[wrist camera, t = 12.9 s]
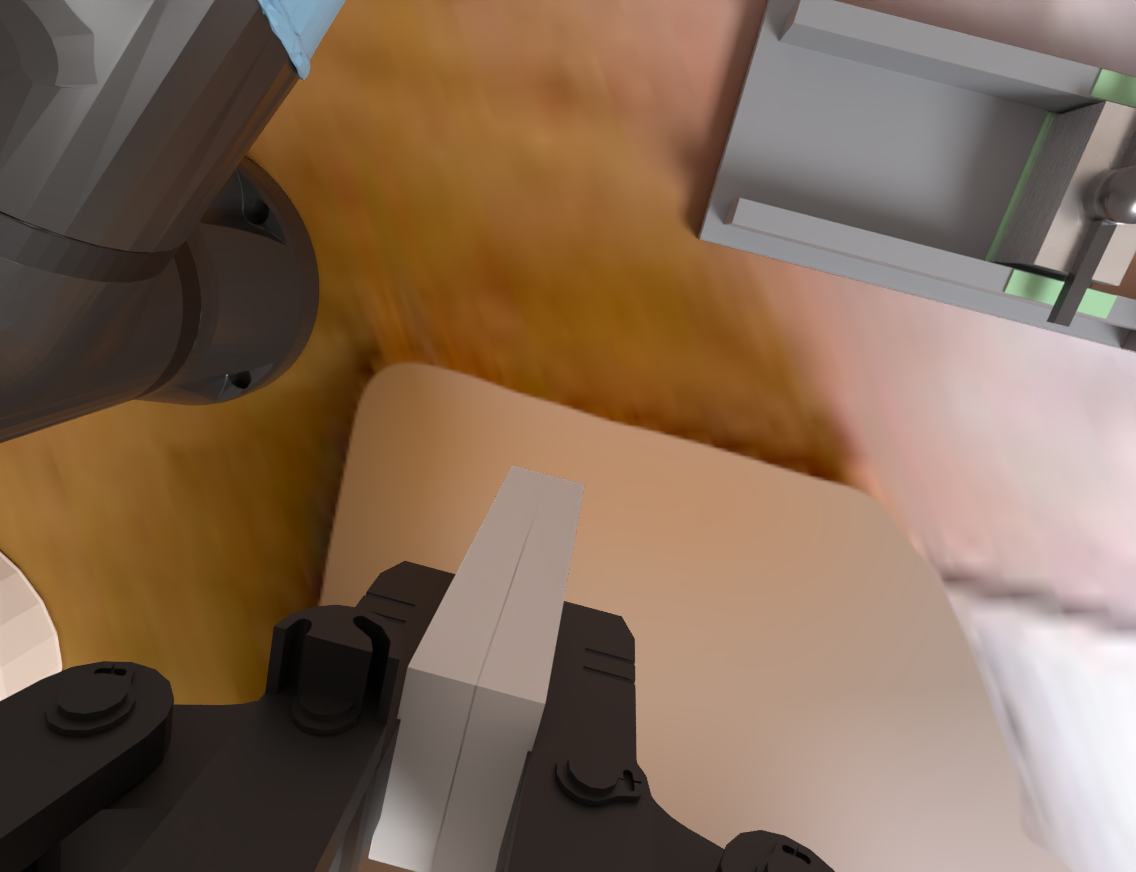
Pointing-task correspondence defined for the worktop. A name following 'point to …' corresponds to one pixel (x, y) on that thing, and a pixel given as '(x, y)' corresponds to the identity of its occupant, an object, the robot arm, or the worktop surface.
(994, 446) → the worktop surface
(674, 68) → the worktop surface
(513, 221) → the worktop surface
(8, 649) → the kettle
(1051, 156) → the slider
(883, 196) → the gauge bed
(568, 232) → the worktop surface
